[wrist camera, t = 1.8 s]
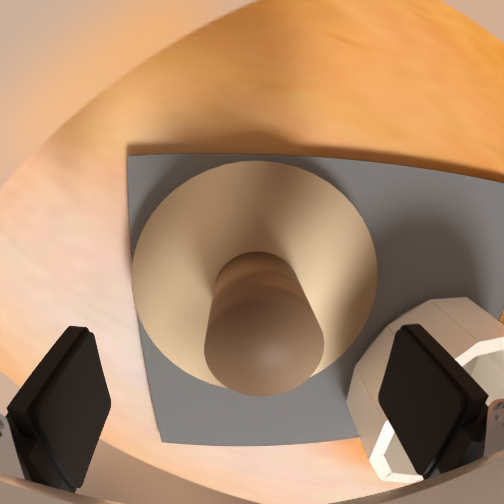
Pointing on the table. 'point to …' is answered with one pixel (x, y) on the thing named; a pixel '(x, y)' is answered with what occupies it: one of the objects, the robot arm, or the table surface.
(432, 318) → the bowl
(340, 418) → the mat
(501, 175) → the table surface
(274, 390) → the lid
